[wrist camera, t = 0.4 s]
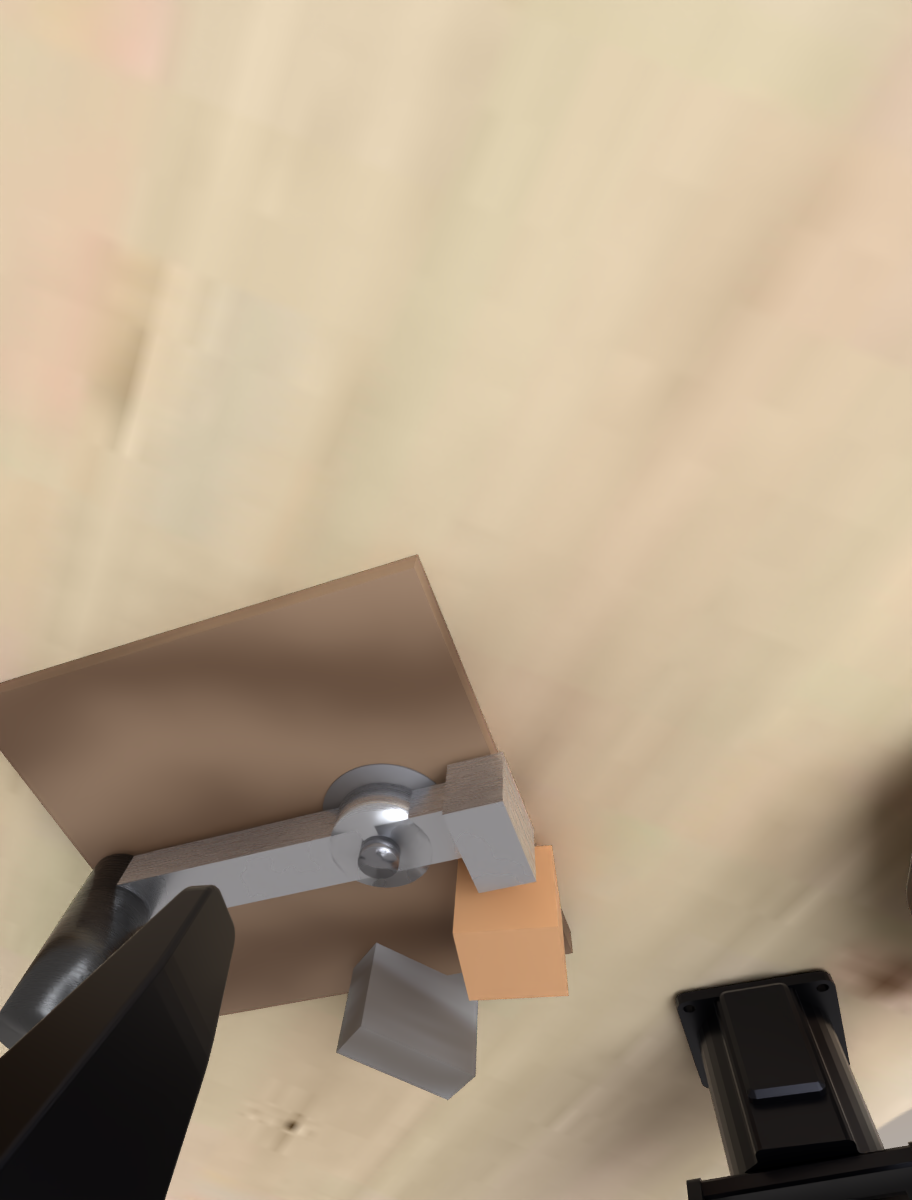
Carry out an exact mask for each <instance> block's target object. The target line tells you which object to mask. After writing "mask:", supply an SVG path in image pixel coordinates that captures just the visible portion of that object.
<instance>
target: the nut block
mask: <svg viewBox="0 0 912 1200" xmlns="http://www.w3.org/2000/svg"><path fill="white" fill-rule="evenodd" d="M535 866H536V882H532V883H527V884H522V885H517V886H512V887H507V888H502V889H497V890H492V891H487V892H482V893H478V891H477V888H476V886H475V884H474V882H473V880H472V878H471V876H470V873H469V871H468V869H467V867H466V865H465V863H464V861H463V859H462V858H459V859H458V867H457V880H456V894H455V907H454V921H453V937H454V941H455V945H456V949H457V953H458V957H459V961H460V966H461V970H462V974H463V978H464V982H465V986H466V990H467V994H468V998H469V1001H472V1000H492V999H512V998H532V997H552V996H569V995H568V983H567V971H566V960H565V948H564V937H563V925H562V914H561V906H560V899H559V892H558V885H557V878H556V871H555V864H554V857H553V850H552V845H548V846H535Z"/></svg>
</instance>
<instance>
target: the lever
mask: <svg viewBox="0 0 912 1200" xmlns="http://www.w3.org/2000/svg"><path fill="white" fill-rule="evenodd" d="M459 858H462V859H463V861H464V863H465V865H466V867H467V869H468V871H469V873H470V876H471V878H472V880H473V882H474V884H475V886H476V888H477V891H478V893H482V892H487V891H492V890H497V889H502V888H507V887H512V886H517V885H522V884H527V883H532V882H536V866H535V847H534V828H533V826H532V823H531V821H530V818H529V816H528V813H527V811H526V808H525V806H524V803H523V801H522V798H521V796H520V793H519V791H518V788H517V786H516V783H515V781H514V778H513V776H512V773H511V771H510V768H509V766H508V763H507V761H506V758H505V756H504V753H503V752H499V753H495V754H491V755H487V756H483V757H478V758H474V759H470V760H466V761H462V762H458V763H454V764H449V765H447V774H446V782H444V783H440V784H436V785H432V786H427V787H423V788H419V789H415V790H411V789H409V788H407V787H404V786H401V785H397V784H393V783H372V784H367V785H363V786H361V787H358V788H356V789H355V790H353V791H351V792H350V793H349V794H348V795H347V796H346V797H345V798H344V799H343V801H342V802H341V804H340V806H339V807H338V808H334V809H330V810H326V811H322V812H317V813H313V814H309V815H305V816H300V817H296V818H292V819H288V820H283V821H279V822H275V823H271V824H267V825H262V826H258V827H254V828H250V829H245V830H241V831H237V832H233V833H228V834H224V835H220V836H216V837H211V838H207V839H203V840H199V841H195V842H190V843H186V844H182V845H178V846H173V847H169V848H165V849H161V850H156V851H152V852H148V853H144V854H140V855H135V856H133V855H129V854H113V855H109V856H106V857H104V858H102V859H101V860H100V861H99V862H98V863H97V865H96V866H95V868H94V869H93V871H92V872H91V874H90V875H89V877H88V878H87V880H86V881H85V883H84V884H83V886H82V888H81V889H80V891H79V892H78V894H77V895H76V897H75V898H74V900H73V901H72V903H71V904H70V906H69V907H68V909H67V910H66V912H65V913H64V915H63V917H62V918H61V920H60V921H59V923H58V924H57V926H56V927H55V929H54V930H53V932H52V933H51V935H50V936H49V938H48V939H47V941H46V942H45V944H44V945H43V947H42V949H41V950H40V952H39V953H38V955H37V956H36V958H35V959H34V961H33V962H32V964H31V965H30V967H29V968H28V970H27V971H26V973H25V974H24V976H23V978H22V979H21V981H20V982H19V984H18V985H17V987H16V988H15V990H14V991H13V993H12V994H11V996H10V997H9V999H8V1000H7V1002H6V1003H5V1005H4V1006H3V1008H2V1010H1V1011H0V1042H1V1043H2V1044H3V1045H5V1046H6V1047H7V1048H8V1049H10V1048H11V1047H13V1046H14V1045H15V1044H16V1043H17V1042H18V1041H19V1040H20V1039H21V1038H22V1037H23V1036H24V1035H26V1034H27V1033H28V1032H29V1031H30V1030H31V1029H32V1028H33V1027H34V1026H35V1025H36V1024H37V1023H39V1022H40V1021H41V1020H42V1019H43V1018H44V1017H45V1016H46V1015H47V1014H48V1013H49V1012H50V1011H52V1010H53V1009H54V1008H55V1007H56V1006H57V1005H58V1004H59V1003H60V1002H61V1001H62V1000H64V999H65V998H66V997H67V996H68V995H69V994H70V993H71V992H72V991H73V990H74V989H75V988H77V987H78V986H79V985H80V984H81V983H82V982H83V981H84V980H85V979H86V978H87V977H88V976H90V975H91V974H92V973H93V972H94V971H95V970H96V969H97V968H98V967H99V966H100V965H101V964H103V963H104V962H105V961H106V960H107V959H108V958H109V957H110V956H111V955H112V954H113V953H115V952H116V951H117V950H118V949H119V948H120V947H121V946H122V945H123V944H124V943H125V942H126V941H128V940H129V939H130V938H131V937H132V936H133V935H134V934H135V933H136V932H137V931H138V930H139V929H141V928H142V927H143V926H144V925H145V924H146V923H147V922H148V921H149V920H150V919H151V918H153V917H154V916H155V915H156V914H157V913H158V912H159V911H160V910H161V909H162V908H163V907H164V906H166V905H167V904H168V903H169V902H170V901H171V900H172V899H173V898H174V897H175V896H176V895H177V894H179V893H180V892H181V891H182V890H183V889H185V888H187V887H189V886H200V885H215V886H216V887H217V888H219V890H220V892H221V894H222V896H223V899H224V901H225V904H226V906H227V908H228V907H233V906H238V905H243V904H247V903H252V902H257V901H261V900H266V899H271V898H276V897H280V896H285V895H290V894H294V893H299V892H304V891H308V890H313V889H318V888H323V887H327V886H332V885H337V884H341V883H346V882H351V881H358V882H360V883H363V884H366V885H370V886H374V887H384V888H389V887H399V886H403V885H406V884H409V883H412V882H413V881H415V880H417V879H418V878H420V877H421V876H422V875H423V874H424V873H425V872H426V871H427V870H428V868H429V866H430V865H431V864H436V863H440V862H445V861H450V860H454V859H459Z"/></svg>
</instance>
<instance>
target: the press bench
mask: <svg viewBox="0 0 912 1200" xmlns="http://www.w3.org/2000/svg"><path fill="white" fill-rule="evenodd" d="M0 751H1V752H2V753H3V754H4V756H5V757H6V758H7V760H8V761H9V762H10V763H11V765H12V766H13V767H14V769H15V770H16V771H17V772H18V774H19V775H20V776H21V778H22V779H23V780H24V781H25V783H26V784H27V785H28V787H29V788H30V789H31V790H32V792H33V793H34V794H35V796H36V797H37V798H38V799H39V801H40V802H41V803H42V805H43V806H44V807H45V809H46V810H47V811H48V812H49V814H50V815H51V816H52V818H53V819H54V820H55V821H56V823H57V824H58V825H59V827H60V828H61V829H62V830H63V832H64V833H65V834H66V836H67V837H68V838H69V839H70V841H71V842H72V843H73V845H74V846H75V847H76V848H77V850H78V851H79V852H80V854H81V855H82V856H83V857H84V859H85V860H86V861H87V863H88V864H89V865H90V866H91V868H92V869H94V868H95V866H96V865H97V863H98V862H99V861H100V860H101V859H102V858H104V857H106V856H109V855H113V854H129V855H133V856H135V855H140V854H144V853H148V852H152V851H156V850H161V849H165V848H169V847H173V846H178V845H182V844H186V843H190V842H195V841H199V840H203V839H207V838H211V837H216V836H220V835H224V834H228V833H233V832H237V831H241V830H245V829H250V828H254V827H258V826H262V825H267V824H271V823H275V822H279V821H283V820H288V819H292V818H296V817H300V816H305V815H309V814H313V813H317V812H322V811H326V810H330V809H334V808H338V807H339V806H340V804H341V802H342V801H343V799H344V798H345V797H346V796H347V795H348V794H349V793H350V792H351V791H353V790H355V789H356V788H358V787H361V786H363V785H367V784H372V783H393V784H397V785H401V786H404V787H407V788H409V789H411V790H415V789H419V788H423V787H427V786H432V785H436V784H440V783H444V782H446V774H447V765H449V764H454V763H458V762H462V761H466V760H470V759H474V758H478V757H483V756H487V755H491V754H495V753H498V751H497V749H496V746H495V744H494V741H493V739H492V736H491V734H490V732H489V729H488V727H487V724H486V722H485V719H484V717H483V714H482V712H481V709H480V707H479V704H478V702H477V699H476V697H475V695H474V692H473V690H472V687H471V685H470V682H469V680H468V677H467V675H466V672H465V670H464V667H463V665H462V662H461V660H460V657H459V655H458V653H457V650H456V648H455V645H454V643H453V640H452V638H451V635H450V633H449V630H448V628H447V625H446V623H445V620H444V618H443V616H442V613H441V611H440V608H439V606H438V603H437V601H436V598H435V596H434V593H433V591H432V588H431V586H430V583H429V581H428V578H427V576H426V574H425V571H424V569H423V566H422V564H421V561H420V559H419V556H418V555H415V556H411V557H408V558H405V559H402V560H398V561H395V562H392V563H389V564H385V565H382V566H379V567H376V568H372V569H369V570H366V571H363V572H359V573H356V574H353V575H350V576H346V577H343V578H340V579H337V580H333V581H330V582H327V583H324V584H320V585H317V586H314V587H311V588H307V589H304V590H301V591H298V592H294V593H291V594H288V595H285V596H281V597H278V598H275V599H272V600H268V601H265V602H262V603H259V604H255V605H252V606H249V607H246V608H242V609H239V610H236V611H233V612H229V613H226V614H223V615H220V616H216V617H213V618H210V619H207V620H203V621H200V622H197V623H194V624H190V625H187V626H184V627H181V628H177V629H174V630H171V631H168V632H164V633H161V634H158V635H155V636H151V637H148V638H145V639H142V640H138V641H135V642H132V643H129V644H125V645H122V646H119V647H116V648H112V649H109V650H106V651H102V652H99V653H96V654H93V655H89V656H86V657H83V658H80V659H76V660H73V661H70V662H67V663H63V664H60V665H57V666H54V667H50V668H47V669H44V670H41V671H37V672H34V673H31V674H28V675H24V676H21V677H18V678H15V679H11V680H8V681H5V682H2V683H0ZM535 846H536V845H535V843H534V847H535ZM457 867H458V859H454V860H450V861H445V862H440V863H436V864H431V865H430V866H429V868H428V870H427V871H426V872H425V873H424V874H423V875H422V876H421V877H420V878H418V879H417V880H415V881H413V882H412V883H409V884H406V885H403V886H399V887H389V888H384V887H374V886H370V885H366V884H363V883H360V882H358V881H351V882H346V883H341V884H337V885H332V886H327V887H323V888H318V889H313V890H308V891H304V892H299V893H294V894H290V895H285V896H280V897H276V898H271V899H266V900H261V901H257V902H252V903H247V904H243V905H238V906H233V907H228V908H227V909H228V911H229V914H230V916H231V918H232V921H233V924H234V927H235V944H234V949H233V953H232V958H231V963H230V967H229V972H228V976H227V981H226V986H225V990H224V995H223V999H222V1004H221V1009H220V1013H219V1016H221V1015H227V1014H233V1013H238V1012H244V1011H250V1010H255V1009H261V1008H266V1007H272V1006H278V1005H283V1004H289V1003H295V1002H300V1001H306V1000H311V999H317V998H323V997H328V996H334V995H339V994H345V993H348V998H347V1003H346V1007H345V1012H344V1017H343V1022H342V1027H341V1032H340V1036H339V1041H338V1046H337V1051H336V1053H339V1054H341V1055H343V1056H346V1057H348V1058H350V1059H353V1060H355V1061H357V1062H360V1063H362V1064H364V1065H367V1066H369V1067H371V1068H374V1069H376V1070H379V1071H381V1072H383V1073H386V1074H388V1075H390V1076H393V1077H395V1078H397V1079H400V1080H402V1081H404V1082H407V1083H409V1084H412V1085H414V1086H416V1087H419V1088H421V1089H423V1090H426V1091H428V1092H430V1093H433V1094H435V1095H437V1096H440V1097H442V1098H445V1099H447V1100H448V1099H450V1098H451V1097H452V1096H453V1095H454V1094H455V1093H457V1092H458V1091H459V1090H460V1089H461V1088H462V1087H463V1086H465V1085H466V1084H467V1083H468V1082H469V1081H470V1080H472V1079H473V1078H474V1077H475V1074H476V1045H477V1015H478V1000H472V1001H469V998H468V994H467V990H466V986H465V982H464V978H463V974H462V970H461V966H460V961H459V957H458V953H457V949H456V945H455V941H454V937H453V921H454V907H455V894H456V880H457ZM561 914H562V925H563V937H564V948H565V954H570V953H573V951H572V941H571V931H570V929H569V927H568V924H567V922H566V919H565V917H564V914H563V912H562V909H561Z"/></svg>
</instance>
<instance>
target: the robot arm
mask: <svg viewBox="0 0 912 1200" xmlns="http://www.w3.org/2000/svg"><path fill="white" fill-rule="evenodd" d="M906 899H907V904H908V907H909V910H910V913H911V915H912V855H911V861H910V867H909V873H908V879H907V885H906ZM234 944H235V927H234V924H233V921H232V918H231V916H230V914H229V911H228V909H227V906H226V904H225V901H224V899H223V896H222V894H221V892H220V890H219V888H217V887H216V886H215V885H200V886H189V887H187V888H185V889H183V890H182V891H181V892H180V893H179V894H177V895H176V896H175V897H174V898H173V899H172V900H171V901H170V902H169V903H168V904H167V905H166V906H164V907H163V908H162V909H161V910H160V911H159V912H158V913H157V914H156V915H155V916H154V917H153V918H151V919H150V920H149V921H148V922H147V923H146V924H145V925H144V926H143V927H142V928H141V929H139V930H138V931H137V932H136V933H135V934H134V935H133V936H132V937H131V938H130V939H129V940H128V941H126V942H125V943H124V944H123V945H122V946H121V947H120V948H119V949H118V950H117V951H116V952H115V953H113V954H112V955H111V956H110V957H109V958H108V959H107V960H106V961H105V962H104V963H103V964H101V965H100V966H99V967H98V968H97V969H96V970H95V971H94V972H93V973H92V974H91V975H90V976H88V977H87V978H86V979H85V980H84V981H83V982H82V983H81V984H80V985H79V986H78V987H77V988H75V989H74V990H73V991H72V992H71V993H70V994H69V995H68V996H67V997H66V998H65V999H64V1000H62V1001H61V1002H60V1003H59V1004H58V1005H57V1006H56V1007H55V1008H54V1009H53V1010H52V1011H50V1012H49V1013H48V1014H47V1015H46V1016H45V1017H44V1018H43V1019H42V1020H41V1021H40V1022H39V1023H37V1024H36V1025H35V1026H34V1027H33V1028H32V1029H31V1030H30V1031H29V1032H28V1033H27V1034H26V1035H24V1036H23V1037H22V1038H21V1039H20V1040H19V1041H18V1042H17V1043H16V1044H15V1045H14V1046H13V1047H11V1048H10V1049H9V1050H8V1051H7V1052H6V1053H5V1054H4V1055H3V1056H2V1057H1V1058H0V1200H165V1197H166V1194H167V1191H168V1188H169V1185H170V1182H171V1179H172V1175H173V1172H174V1169H175V1166H176V1163H177V1160H178V1157H179V1153H180V1150H181V1147H182V1144H183V1141H184V1138H185V1135H186V1132H187V1128H188V1125H189V1122H190V1119H191V1116H192V1113H193V1110H194V1106H195V1103H196V1100H197V1097H198V1094H199V1091H200V1088H201V1085H202V1081H203V1078H204V1075H205V1071H206V1068H207V1065H208V1061H209V1057H210V1053H211V1049H212V1045H213V1041H214V1036H215V1032H216V1027H217V1023H218V1018H219V1013H220V1009H221V1004H222V999H223V995H224V990H225V986H226V981H227V976H228V972H229V967H230V963H231V958H232V953H233V949H234ZM676 1006H677V1010H678V1013H679V1016H680V1019H681V1022H682V1025H683V1028H684V1031H685V1034H686V1037H687V1040H688V1043H689V1046H690V1049H691V1052H692V1055H693V1058H694V1061H695V1064H696V1067H697V1070H698V1073H699V1076H700V1079H701V1082H702V1084H703V1086H705V1087H706V1088H709V1089H710V1093H711V1097H712V1101H713V1106H714V1110H715V1114H716V1118H717V1122H718V1126H719V1130H720V1134H721V1138H722V1142H723V1147H724V1151H725V1155H726V1159H727V1163H728V1167H729V1171H730V1175H731V1176H727V1177H721V1178H715V1179H709V1180H703V1181H702V1180H701V1178H697V1179H691V1180H687V1191H688V1200H912V1142H908V1144H909V1145H908V1146H902V1147H896V1148H890V1149H884V1147H883V1144H882V1142H881V1140H880V1137H879V1135H878V1132H877V1130H876V1128H875V1125H874V1123H873V1121H872V1118H871V1116H870V1113H869V1111H868V1109H867V1106H866V1104H865V1101H864V1099H863V1097H862V1094H861V1092H860V1090H859V1087H858V1085H857V1082H856V1080H855V1078H854V1075H853V1073H852V1071H851V1068H850V1066H849V1065H850V1063H849V1057H848V1052H847V1046H846V1041H845V1036H844V1030H843V1025H842V1019H841V1014H840V1009H839V1003H838V998H837V992H836V987H835V984H834V982H833V980H832V977H831V976H830V974H829V973H827V972H823V971H817V972H811V973H804V974H798V975H792V976H786V977H780V978H773V979H767V980H761V981H755V982H748V983H742V984H736V985H730V986H724V987H717V988H711V989H705V990H699V991H693V992H686V993H682V994H680V995H678V996H677V997H676Z"/></svg>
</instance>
